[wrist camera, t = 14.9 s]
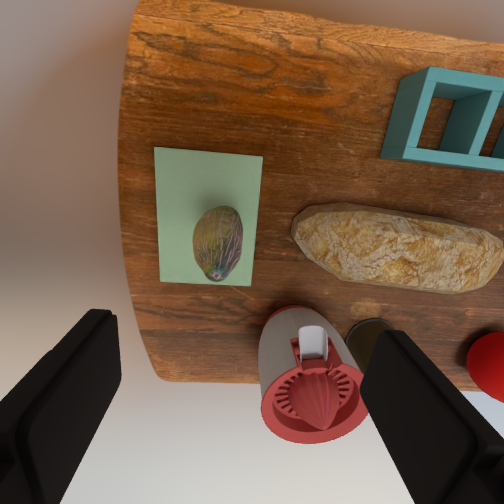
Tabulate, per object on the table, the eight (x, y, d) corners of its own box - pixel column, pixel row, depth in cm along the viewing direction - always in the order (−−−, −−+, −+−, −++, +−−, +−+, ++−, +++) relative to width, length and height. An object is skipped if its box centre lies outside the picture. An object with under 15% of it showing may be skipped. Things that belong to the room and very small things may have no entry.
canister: (334, 341, 53) (388, 444, 34) (374, 308, 50) (455, 399, 32) (367, 367, 56) (432, 474, 37) (405, 337, 53) (496, 436, 35)
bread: (285, 256, 45) (297, 282, 36) (298, 194, 42) (316, 206, 32) (466, 280, 49) (519, 310, 40) (493, 226, 45) (560, 244, 36)
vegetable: (200, 230, 42) (170, 290, 23) (208, 192, 40) (181, 225, 21) (236, 238, 43) (236, 303, 24) (245, 202, 40) (252, 241, 22)
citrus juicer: (335, 283, 48) (397, 366, 29) (328, 356, 54) (376, 463, 35) (252, 288, 47) (261, 375, 29) (254, 361, 53) (264, 472, 35)
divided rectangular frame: (400, 79, 36) (429, 65, 31) (523, 98, 38) (573, 88, 33) (379, 157, 40) (402, 158, 35) (492, 171, 42) (532, 174, 36)
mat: (155, 146, 38) (153, 146, 37) (262, 156, 39) (263, 156, 38) (161, 279, 46) (159, 281, 45) (250, 283, 47) (250, 286, 46)
